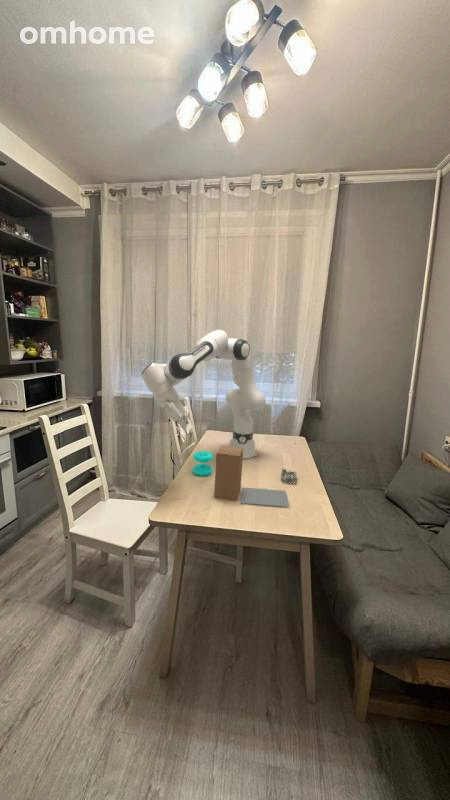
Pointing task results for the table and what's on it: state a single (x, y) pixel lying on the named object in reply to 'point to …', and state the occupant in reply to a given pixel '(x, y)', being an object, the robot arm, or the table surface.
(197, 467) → the donuts
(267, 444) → the table surface
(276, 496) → the rubber mat
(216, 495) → the wooden block
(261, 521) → the table surface
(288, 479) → the egg carton
